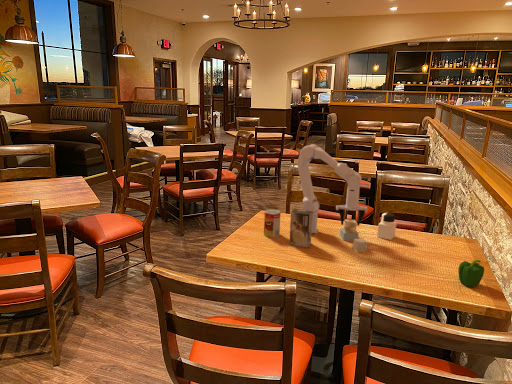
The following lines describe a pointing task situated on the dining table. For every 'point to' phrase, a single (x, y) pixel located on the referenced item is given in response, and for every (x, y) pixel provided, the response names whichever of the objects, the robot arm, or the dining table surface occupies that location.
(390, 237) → the medicine bottle
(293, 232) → the coffee box
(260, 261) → the dining table surface
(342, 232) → the slate block
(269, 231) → the canned food
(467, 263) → the bell pepper
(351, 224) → the maple cube
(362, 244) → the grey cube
